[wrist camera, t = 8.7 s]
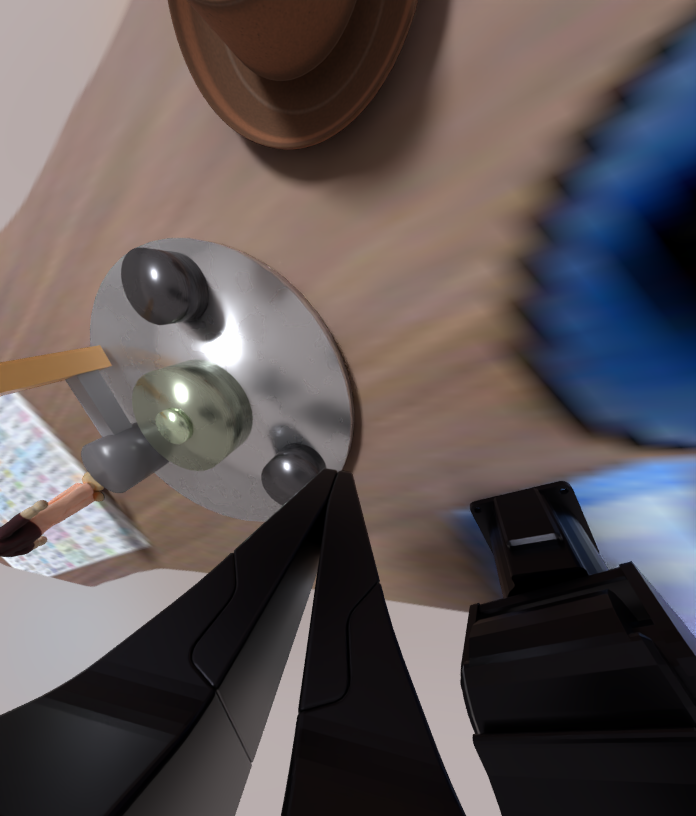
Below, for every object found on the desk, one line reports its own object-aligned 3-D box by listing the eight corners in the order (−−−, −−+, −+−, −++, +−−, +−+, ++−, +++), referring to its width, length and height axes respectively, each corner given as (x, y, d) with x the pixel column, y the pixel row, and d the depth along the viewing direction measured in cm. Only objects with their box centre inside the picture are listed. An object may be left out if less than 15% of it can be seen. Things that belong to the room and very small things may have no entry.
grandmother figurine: (78, 459, 33) (-100, 546, 22) (104, 473, 33) (-64, 568, 22) (86, 502, 37) (-64, 596, 26) (110, 515, 37) (-33, 616, 25)
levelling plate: (410, 472, 21) (404, 520, 17) (216, 532, 31) (180, 572, 27) (225, 149, 16) (149, 98, 12) (64, 344, 26) (-10, 356, 22)
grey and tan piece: (178, 463, 26) (78, 532, 19) (145, 468, 28) (41, 534, 21) (108, 341, 23) (-49, 367, 15) (75, 355, 24) (-81, 386, 17)
